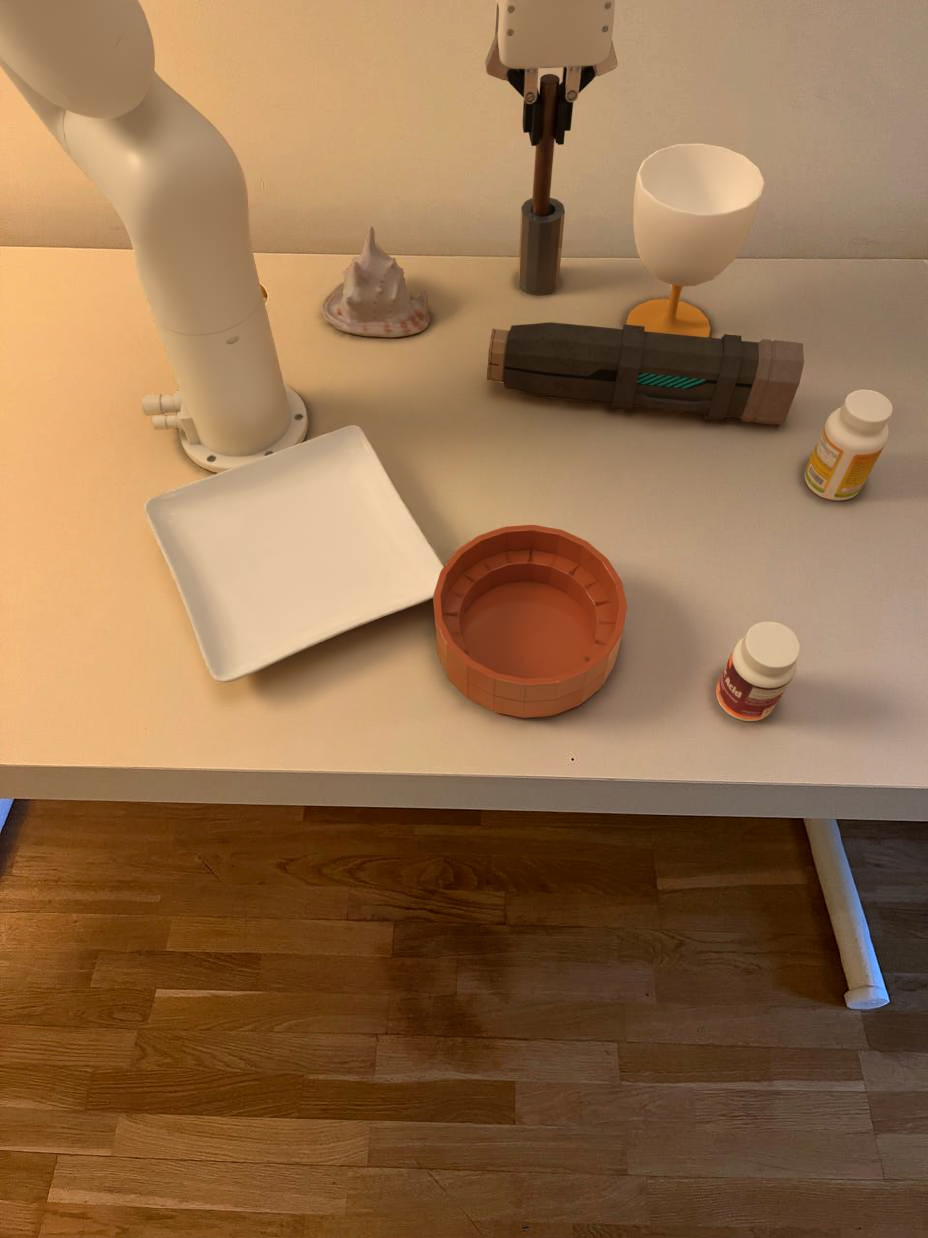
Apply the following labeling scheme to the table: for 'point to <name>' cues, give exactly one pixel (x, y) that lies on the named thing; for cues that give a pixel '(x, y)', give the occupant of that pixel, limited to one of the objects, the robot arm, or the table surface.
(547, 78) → the stick
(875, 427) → the supplement bottle
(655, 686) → the table surface
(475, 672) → the bowl
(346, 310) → the seashell
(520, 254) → the holder
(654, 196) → the cup
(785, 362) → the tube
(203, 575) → the salad plate
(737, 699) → the pill bottle
